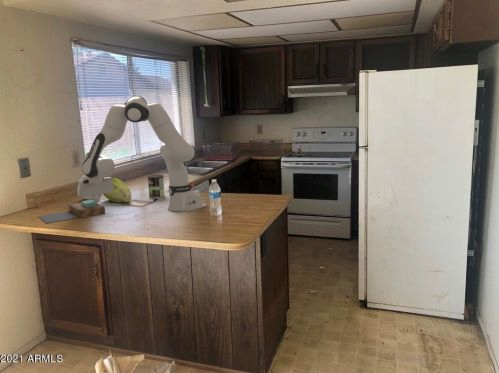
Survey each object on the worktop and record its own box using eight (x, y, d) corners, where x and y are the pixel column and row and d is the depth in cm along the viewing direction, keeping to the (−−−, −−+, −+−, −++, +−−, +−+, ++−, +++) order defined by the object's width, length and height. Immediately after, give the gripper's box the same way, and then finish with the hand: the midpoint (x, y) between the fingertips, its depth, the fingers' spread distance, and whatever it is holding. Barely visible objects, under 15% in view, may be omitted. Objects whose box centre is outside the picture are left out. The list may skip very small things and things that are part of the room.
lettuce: (139, 208, 274) (116, 215, 264) (121, 190, 289) (99, 197, 279) (138, 188, 266) (114, 196, 257) (120, 172, 281) (97, 178, 272)
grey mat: (68, 211, 250) (68, 211, 250) (77, 218, 234) (77, 217, 234) (38, 216, 241) (38, 216, 241) (46, 223, 225) (46, 223, 225)
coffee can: (153, 199, 277) (151, 177, 274) (146, 196, 285) (145, 176, 282) (167, 196, 283) (166, 175, 280) (160, 194, 291) (159, 174, 288)
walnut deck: (93, 207, 260) (92, 200, 259) (105, 213, 242) (104, 206, 241) (69, 211, 251) (68, 204, 251) (80, 218, 234) (79, 211, 233)
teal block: (92, 203, 252) (91, 199, 252) (97, 205, 245) (96, 202, 245) (81, 204, 249) (81, 201, 248) (86, 207, 242) (86, 204, 241)
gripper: (110, 176, 255) (112, 198, 258) (75, 180, 244) (77, 203, 246) (114, 177, 250) (116, 200, 253) (78, 181, 239) (80, 205, 241)
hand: (96, 202), depth 249 cm, fingers closed
